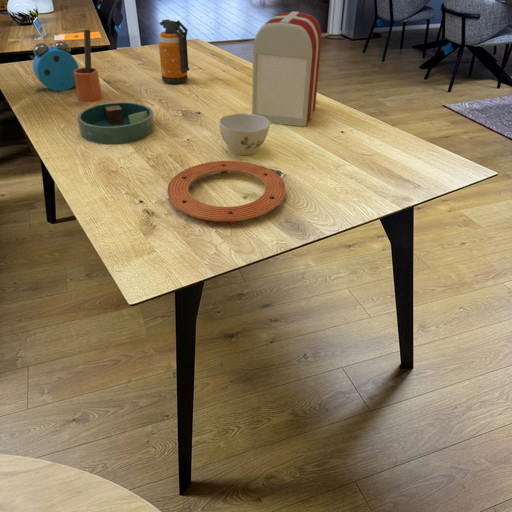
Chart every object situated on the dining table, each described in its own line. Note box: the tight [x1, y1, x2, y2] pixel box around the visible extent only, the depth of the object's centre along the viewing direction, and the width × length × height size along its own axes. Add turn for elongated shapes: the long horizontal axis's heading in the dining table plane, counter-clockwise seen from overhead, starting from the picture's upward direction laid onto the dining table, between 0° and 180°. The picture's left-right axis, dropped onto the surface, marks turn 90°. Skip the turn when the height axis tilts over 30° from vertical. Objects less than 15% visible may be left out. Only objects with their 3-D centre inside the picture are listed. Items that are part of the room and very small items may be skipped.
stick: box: [83, 29, 92, 73], centre depth 149 cm, size 2×2×20 cm
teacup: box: [218, 112, 271, 156], centre depth 121 cm, size 15×12×8 cm
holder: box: [73, 67, 103, 103], centre depth 150 cm, size 7×7×9 cm
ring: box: [166, 160, 287, 224], centre depth 103 cm, size 25×25×2 cm
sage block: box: [128, 111, 148, 124], centre depth 129 cm, size 4×4×4 cm
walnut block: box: [105, 105, 124, 125], centre depth 135 cm, size 4×4×4 cm
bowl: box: [76, 101, 155, 145], centre depth 130 cm, size 20×20×5 cm
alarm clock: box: [32, 40, 80, 92], centre depth 156 cm, size 13×6×15 cm, turn 125°
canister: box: [158, 19, 190, 85], centre depth 164 cm, size 9×11×20 cm
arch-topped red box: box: [251, 10, 322, 127], centre depth 137 cm, size 16×18×27 cm
